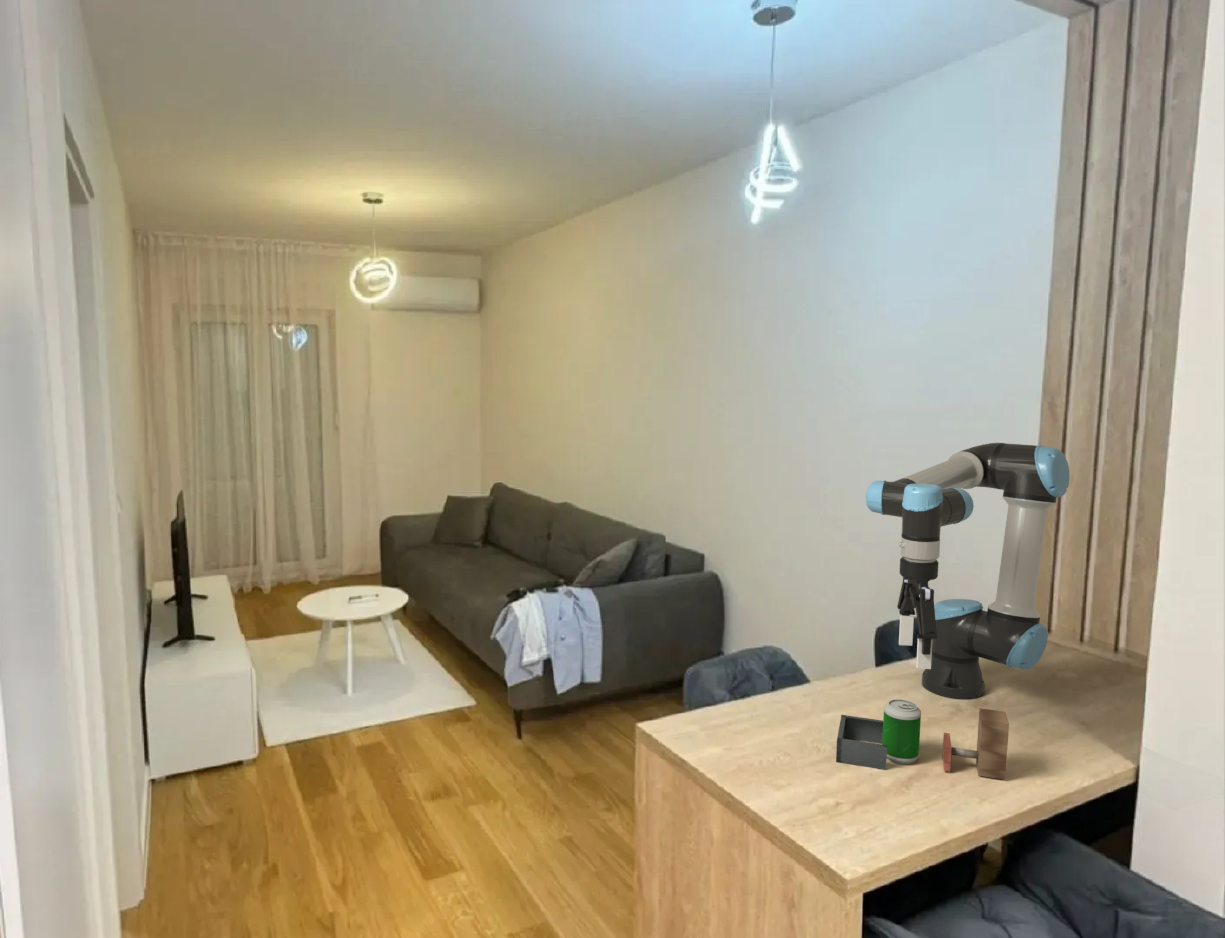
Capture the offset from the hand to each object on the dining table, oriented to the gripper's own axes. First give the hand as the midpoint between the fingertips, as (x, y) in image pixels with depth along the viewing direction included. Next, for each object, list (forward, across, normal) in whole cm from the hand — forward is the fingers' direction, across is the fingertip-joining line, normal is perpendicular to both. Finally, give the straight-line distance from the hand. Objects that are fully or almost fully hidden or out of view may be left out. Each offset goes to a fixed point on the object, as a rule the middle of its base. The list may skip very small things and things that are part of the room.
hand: (914, 656), depth 172 cm
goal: (+23, -1, -10) cm, 25 cm away
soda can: (+23, 0, -2) cm, 23 cm away
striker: (+22, +4, +12) cm, 26 cm away
